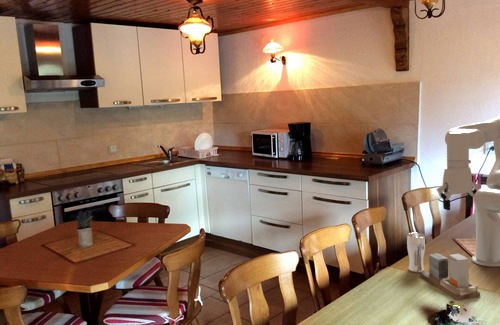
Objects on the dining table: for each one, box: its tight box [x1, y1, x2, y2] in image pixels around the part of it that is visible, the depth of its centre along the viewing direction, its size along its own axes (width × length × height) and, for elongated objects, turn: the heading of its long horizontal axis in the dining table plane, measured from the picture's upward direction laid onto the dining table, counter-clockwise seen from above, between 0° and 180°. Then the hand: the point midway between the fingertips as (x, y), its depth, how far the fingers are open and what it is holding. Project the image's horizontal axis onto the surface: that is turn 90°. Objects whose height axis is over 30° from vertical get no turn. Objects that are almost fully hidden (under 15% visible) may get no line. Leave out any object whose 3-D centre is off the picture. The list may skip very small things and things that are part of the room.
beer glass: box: [406, 232, 426, 273], centre depth 183 cm, size 7×7×15 cm
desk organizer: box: [419, 253, 481, 301], centre depth 166 cm, size 9×23×10 cm, turn 12°
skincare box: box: [448, 253, 470, 289], centre depth 160 cm, size 6×4×12 cm
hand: (458, 208), depth 170 cm, fingers open, 9 cm apart
